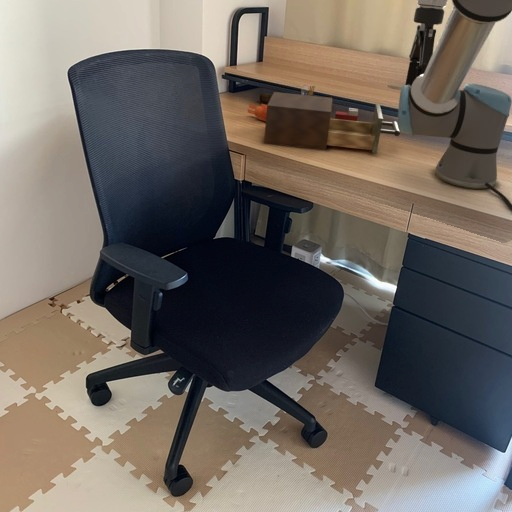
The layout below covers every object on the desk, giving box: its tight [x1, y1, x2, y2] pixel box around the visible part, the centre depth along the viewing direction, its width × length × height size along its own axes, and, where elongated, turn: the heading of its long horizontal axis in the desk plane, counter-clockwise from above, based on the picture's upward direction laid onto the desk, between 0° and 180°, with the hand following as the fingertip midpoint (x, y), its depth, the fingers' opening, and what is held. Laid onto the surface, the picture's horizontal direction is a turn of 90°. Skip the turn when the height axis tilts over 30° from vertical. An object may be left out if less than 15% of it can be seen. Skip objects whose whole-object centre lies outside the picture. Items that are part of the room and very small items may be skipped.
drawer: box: [327, 103, 401, 154], centre depth 155 cm, size 24×17×10 cm
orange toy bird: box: [247, 103, 268, 122], centre depth 173 cm, size 5×8×12 cm
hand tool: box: [259, 91, 273, 105], centre depth 186 cm, size 19×4×5 cm, turn 37°
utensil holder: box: [300, 85, 315, 96], centre depth 174 cm, size 6×6×12 cm
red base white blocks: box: [334, 107, 359, 121], centre depth 169 cm, size 7×3×6 cm, turn 82°
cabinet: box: [263, 91, 333, 151], centre depth 156 cm, size 18×17×11 cm
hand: (413, 90), depth 148 cm, fingers open, 13 cm apart
